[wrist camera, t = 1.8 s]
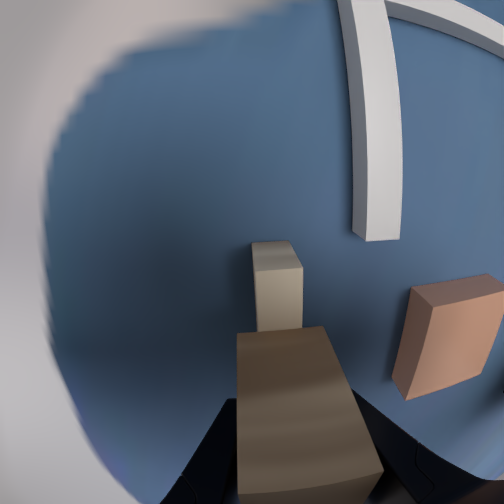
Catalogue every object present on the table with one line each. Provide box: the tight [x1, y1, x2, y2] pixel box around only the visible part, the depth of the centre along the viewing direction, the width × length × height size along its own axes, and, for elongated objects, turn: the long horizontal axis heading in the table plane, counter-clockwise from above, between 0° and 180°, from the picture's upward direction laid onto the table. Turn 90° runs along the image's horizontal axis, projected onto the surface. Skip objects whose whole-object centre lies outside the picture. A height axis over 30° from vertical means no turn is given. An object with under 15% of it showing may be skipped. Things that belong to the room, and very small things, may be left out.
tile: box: [392, 274, 504, 401], centre depth 13 cm, size 6×6×2 cm
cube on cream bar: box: [237, 241, 384, 504], centre depth 9 cm, size 8×3×9 cm, turn 3°
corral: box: [337, 0, 504, 241], centre depth 10 cm, size 13×12×2 cm
